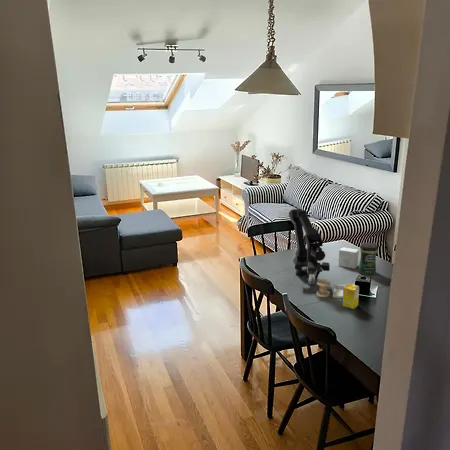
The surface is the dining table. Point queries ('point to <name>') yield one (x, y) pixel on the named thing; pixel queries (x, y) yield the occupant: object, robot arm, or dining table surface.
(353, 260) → the skincare box
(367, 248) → the coffee jar
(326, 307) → the dining table surface
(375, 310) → the dining table surface
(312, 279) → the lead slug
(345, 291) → the supplement box
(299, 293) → the dining table surface
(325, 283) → the spool
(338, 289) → the white rectangular tray
